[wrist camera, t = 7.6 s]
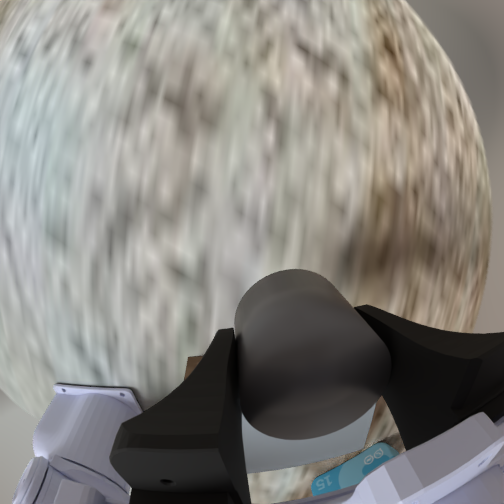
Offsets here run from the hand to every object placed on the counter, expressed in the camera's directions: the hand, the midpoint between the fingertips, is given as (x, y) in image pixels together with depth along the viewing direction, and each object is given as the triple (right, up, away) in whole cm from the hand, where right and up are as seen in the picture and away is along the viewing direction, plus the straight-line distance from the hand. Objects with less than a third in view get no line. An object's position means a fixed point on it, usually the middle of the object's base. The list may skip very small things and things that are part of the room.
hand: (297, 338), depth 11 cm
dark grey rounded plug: (0, 0, +1) cm, 2 cm away
